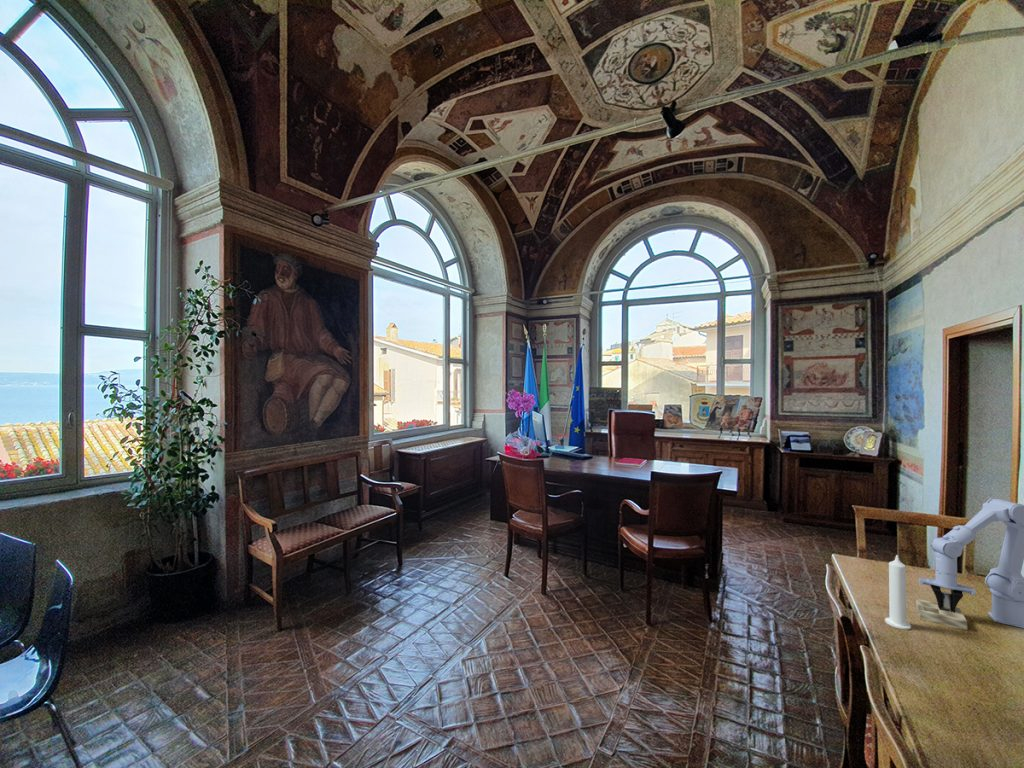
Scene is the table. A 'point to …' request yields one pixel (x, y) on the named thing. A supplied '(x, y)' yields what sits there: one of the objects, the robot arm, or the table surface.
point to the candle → (897, 595)
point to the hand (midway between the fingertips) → (946, 608)
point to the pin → (946, 601)
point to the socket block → (940, 614)
